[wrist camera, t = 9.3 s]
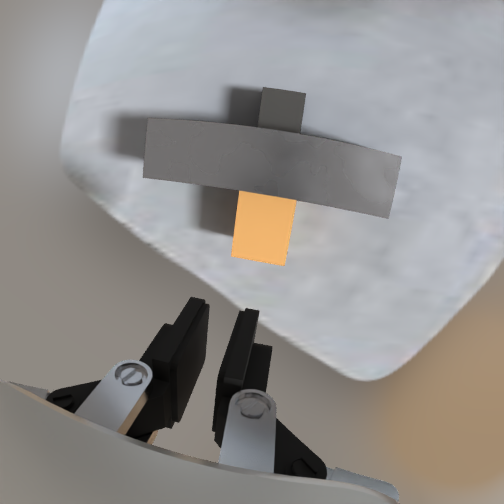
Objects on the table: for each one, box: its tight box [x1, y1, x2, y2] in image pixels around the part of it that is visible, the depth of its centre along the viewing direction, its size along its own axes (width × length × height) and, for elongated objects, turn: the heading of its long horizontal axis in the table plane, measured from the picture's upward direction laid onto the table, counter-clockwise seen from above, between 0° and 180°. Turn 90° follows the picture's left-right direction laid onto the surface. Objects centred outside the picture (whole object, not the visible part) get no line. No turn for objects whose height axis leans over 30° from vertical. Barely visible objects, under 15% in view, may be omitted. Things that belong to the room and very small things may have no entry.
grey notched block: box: [143, 118, 402, 219], centre depth 21 cm, size 4×16×6 cm, turn 82°
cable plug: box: [231, 87, 306, 266], centre depth 23 cm, size 12×4×4 cm, turn 172°
